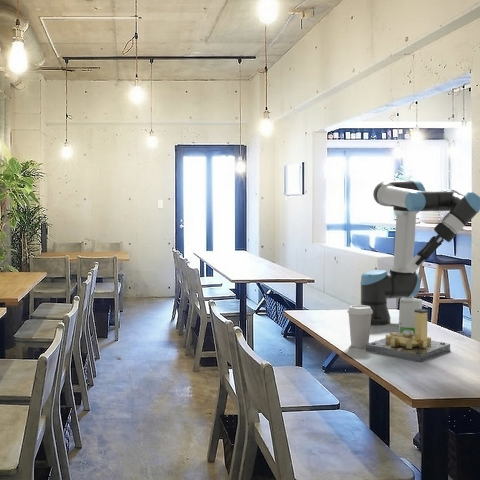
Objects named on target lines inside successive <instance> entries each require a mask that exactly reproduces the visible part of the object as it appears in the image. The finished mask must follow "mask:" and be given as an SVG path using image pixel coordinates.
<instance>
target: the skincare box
mask: <svg viewBox="0 0 480 480" xmlns="http://www.w3.org/2000/svg"><path fill="white" fill-rule="evenodd" d="M417 309H423V299H421V298H414V297H411V298H405V297H402V298H399V311H398V312H399V316H398V333H403V330H412V331H413V333H414V334H415V312H414V310H417Z"/></svg>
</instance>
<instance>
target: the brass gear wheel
mask: <svg viewBox="0 0 480 480" xmlns="http://www.w3.org/2000/svg"><path fill="white" fill-rule="evenodd" d="M414 312H415V334H414V333H413V337H405V336H403V333H399V332H390V333H389V334H385V338H386V343H391V346H394V347H396V346H402V347H406V348H409V349H412V347H421V348H426V347H427V345H431V341H432V337H431V336H428V314H429V310H428V309H424V308H422V309H417V310H414Z"/></svg>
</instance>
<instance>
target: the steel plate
mask: <svg viewBox="0 0 480 480" xmlns="http://www.w3.org/2000/svg"><path fill="white" fill-rule="evenodd" d="M403 336H405V337H413V331H412V330H403ZM365 351H366V352H371V353H375V354H379V355H380V354H381V355H385V356H389V357H393V358H394V357H395V358H399V359H403V360H408V361H412V360H413V362H418V363H422V362H424V361H427V360H430V359H433V358H434V357H437V356H440V355H443V354H446V353H448V352H450V351H451V343H447V342H442V341H436V340H431V345H427V347H426V348H421V347H412V349H409V348H406V347H402V346H396V347H394V346H391V343H386V337H385V338H382V339H379V340H374V341H372V342H369V343H368V344H366V347H365Z"/></svg>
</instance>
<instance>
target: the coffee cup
mask: <svg viewBox="0 0 480 480" xmlns="http://www.w3.org/2000/svg"><path fill="white" fill-rule="evenodd" d="M346 311H347V313H348V323H349V324H348V325H349V333H350V334H349V336H350V346H351V347H353V348H360V349H361V348H365V349H366V344H368V343H370V333H371V325H370V324H371V315H372V313H373V311H372V310H371V307H370V306H365V305H361V304H354V305H349V308H348V309H347V310H346Z"/></svg>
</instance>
